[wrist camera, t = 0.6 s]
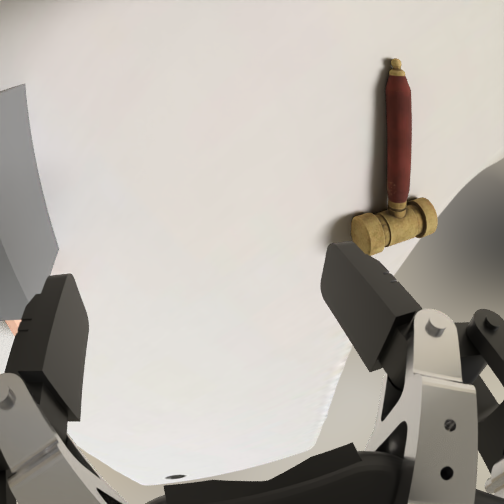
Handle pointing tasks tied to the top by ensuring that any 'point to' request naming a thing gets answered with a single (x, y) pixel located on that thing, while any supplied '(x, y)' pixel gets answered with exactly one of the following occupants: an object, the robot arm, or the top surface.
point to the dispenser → (21, 211)
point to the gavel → (396, 179)
